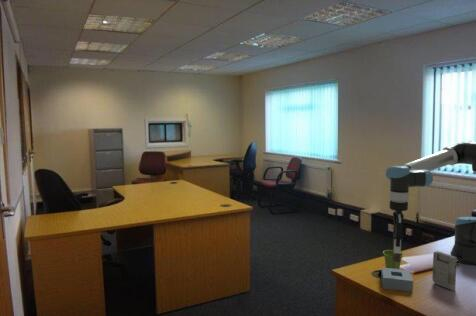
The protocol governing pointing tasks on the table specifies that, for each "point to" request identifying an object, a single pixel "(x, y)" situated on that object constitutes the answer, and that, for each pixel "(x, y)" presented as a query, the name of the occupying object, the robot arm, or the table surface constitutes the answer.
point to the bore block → (396, 279)
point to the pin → (395, 255)
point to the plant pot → (391, 260)
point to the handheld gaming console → (444, 270)
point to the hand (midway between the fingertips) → (396, 251)
